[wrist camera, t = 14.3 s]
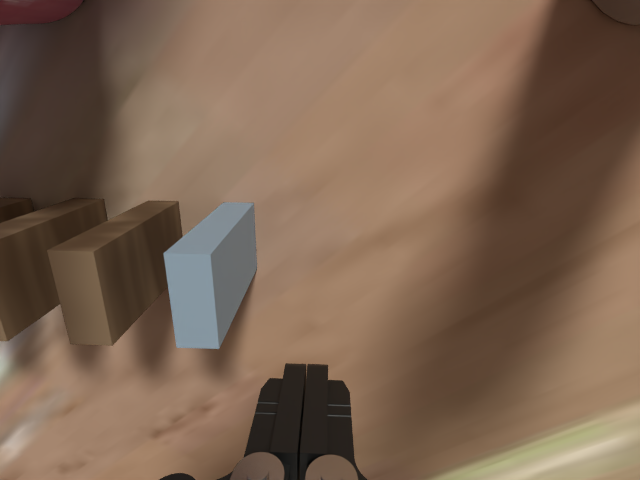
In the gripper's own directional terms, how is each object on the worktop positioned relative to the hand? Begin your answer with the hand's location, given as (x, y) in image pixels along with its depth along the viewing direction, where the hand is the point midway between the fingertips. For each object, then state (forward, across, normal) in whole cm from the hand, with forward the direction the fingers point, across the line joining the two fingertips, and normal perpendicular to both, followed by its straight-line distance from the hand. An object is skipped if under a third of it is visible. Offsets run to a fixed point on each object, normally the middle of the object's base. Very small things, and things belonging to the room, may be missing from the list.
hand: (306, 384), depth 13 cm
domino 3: (+15, +6, 0) cm, 16 cm away
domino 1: (+15, +17, 0) cm, 23 cm away
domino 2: (+15, +11, 0) cm, 19 cm away
